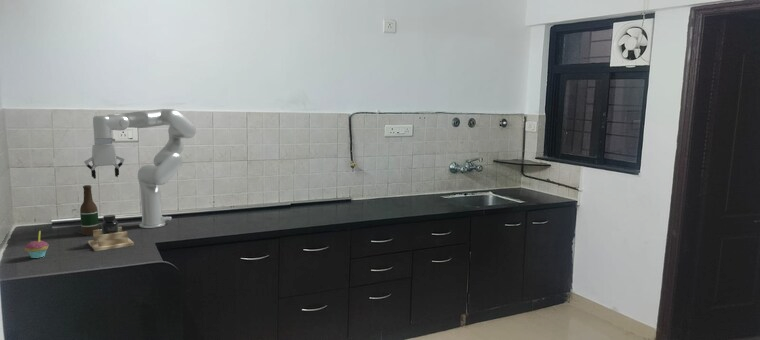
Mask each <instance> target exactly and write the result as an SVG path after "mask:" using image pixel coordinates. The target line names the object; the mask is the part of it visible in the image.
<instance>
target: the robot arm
mask: <svg viewBox="0 0 760 340" xmlns="http://www.w3.org/2000/svg"><path fill="white" fill-rule="evenodd" d="M161 126H168V130H167V131H168V141H167V143H166V144H165V145H164V146H163V147H162V148H161V150H159V152H157V153H156V155H155V156H154V157H153V161H152V162H153V164H154V165H152V164H151V165H150V164H146V165H143V166H141V167H140V168H139V169H138V172H137V180H138V184H139V189H140V206H141V223H139V225H138V226H139V227H140V228H142V229H155V228H160V227H164V226H165V225H166V221H172V219H173V218H172V216H163V215H162V214H163V213H162V198H161V197H162V194H161V187H160V186H163V185H165V184H166V183H168V182H169V181H170V180H171V179H172V178H173V177H174V175H175V174H176V173H178V171H179V170H180V169H181V167H182V165H183V157H182V155H181V154H182V152H183V149H184V139H191V138H194V136H195V135H196V133H197V130H196V126H195V125H194V123H193V122H191V120H189V118H187V117H186V116H185V115H183V113H181V112H180V111H178V110H176V109H174V108H171V109H170V108H161V109H160V108H159V109H151V110H150V109H149V110H140V111H131V112H121V113H111V114H107V115H94V116H93V117H92V127H93V128H92V129H93V142H94V144H92V148H91V157H90V158H88V159H86V160H84V161H83V163H84V164H85V166H86V168H89V170H90V171H91V172H90V173H91V177H92V178H93V179H96V178H97V174H96V168H97V167H105V166H114V167H115V168H114V177H116V178H118V177H119V175H120V167H122V166H123V164H124V162H125V158H123V157H120V156H118V155H117V153H116V152H117V151H116V148H115V144H113V143H114V142H116V139H115V138H113V137H112V131H124V130H126V129H129V128H131V129H132V128H133V129H134V128H135V129H147V128H153V127H155V128H156V127H161ZM117 160H118V161H119V162H118V161H117ZM90 162H91V164H92V165H90ZM117 162H118V163H117Z"/></svg>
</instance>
